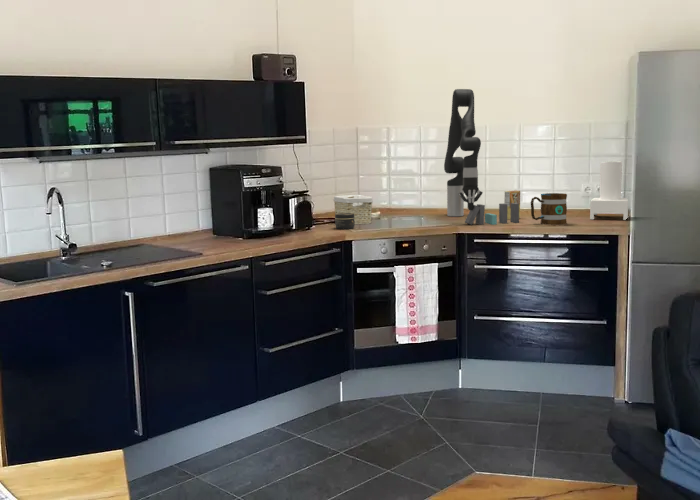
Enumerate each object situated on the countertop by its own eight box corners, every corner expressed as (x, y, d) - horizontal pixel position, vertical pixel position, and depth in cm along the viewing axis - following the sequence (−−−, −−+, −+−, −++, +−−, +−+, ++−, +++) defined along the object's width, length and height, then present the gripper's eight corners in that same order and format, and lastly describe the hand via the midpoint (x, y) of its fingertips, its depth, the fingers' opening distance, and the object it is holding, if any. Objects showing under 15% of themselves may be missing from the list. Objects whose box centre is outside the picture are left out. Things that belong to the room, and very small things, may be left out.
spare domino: (492, 215, 410) (484, 213, 420) (492, 224, 411) (484, 223, 421) (496, 215, 411) (489, 213, 421) (496, 224, 412) (489, 222, 421)
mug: (558, 221, 419) (558, 192, 417) (572, 223, 406) (572, 194, 404) (524, 223, 414) (524, 194, 412) (537, 225, 401) (537, 195, 399)
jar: (348, 230, 402) (347, 215, 401) (331, 229, 407) (331, 214, 406) (358, 228, 410) (358, 213, 409) (342, 227, 416) (341, 212, 415)
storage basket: (333, 221, 445) (332, 195, 443) (361, 220, 449) (360, 194, 447) (345, 226, 422) (344, 198, 420) (374, 224, 426) (373, 196, 424)
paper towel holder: (590, 219, 426) (591, 162, 421) (593, 215, 443) (594, 161, 439) (627, 219, 419) (628, 162, 414) (629, 216, 436) (630, 161, 432)
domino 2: (479, 224, 412) (480, 205, 411) (475, 223, 417) (476, 204, 416) (483, 224, 413) (484, 205, 411) (480, 223, 417) (481, 204, 416)
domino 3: (502, 223, 415) (503, 204, 413) (499, 222, 420) (499, 203, 418) (507, 223, 415) (507, 204, 414) (503, 222, 420) (503, 203, 419)
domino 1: (467, 223, 411) (476, 205, 410) (464, 222, 415) (472, 204, 415) (471, 225, 411) (480, 207, 411) (468, 224, 416) (476, 206, 416)
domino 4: (514, 223, 416) (514, 203, 415) (510, 222, 421) (510, 203, 420) (518, 222, 417) (519, 203, 415) (515, 221, 421) (515, 202, 420)
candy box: (514, 218, 441) (514, 190, 439) (520, 218, 438) (520, 190, 435) (503, 219, 435) (504, 191, 433) (510, 219, 432) (510, 191, 430)
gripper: (479, 175, 415) (479, 209, 418) (455, 176, 412) (455, 210, 415) (485, 176, 408) (485, 210, 410) (460, 177, 405) (460, 211, 408)
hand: (470, 210), depth 413 cm, fingers closed
